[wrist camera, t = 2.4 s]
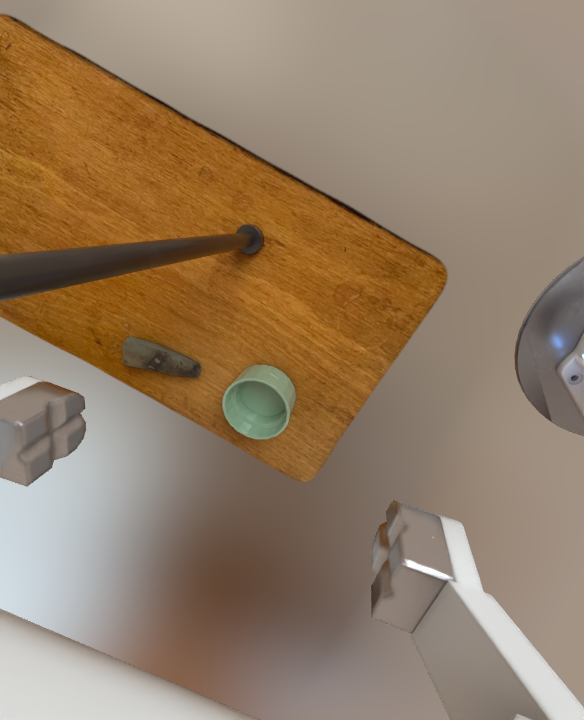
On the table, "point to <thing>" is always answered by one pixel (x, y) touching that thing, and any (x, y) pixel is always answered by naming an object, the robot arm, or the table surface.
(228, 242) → the stick
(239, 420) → the bowl
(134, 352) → the stone
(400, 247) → the table surface
